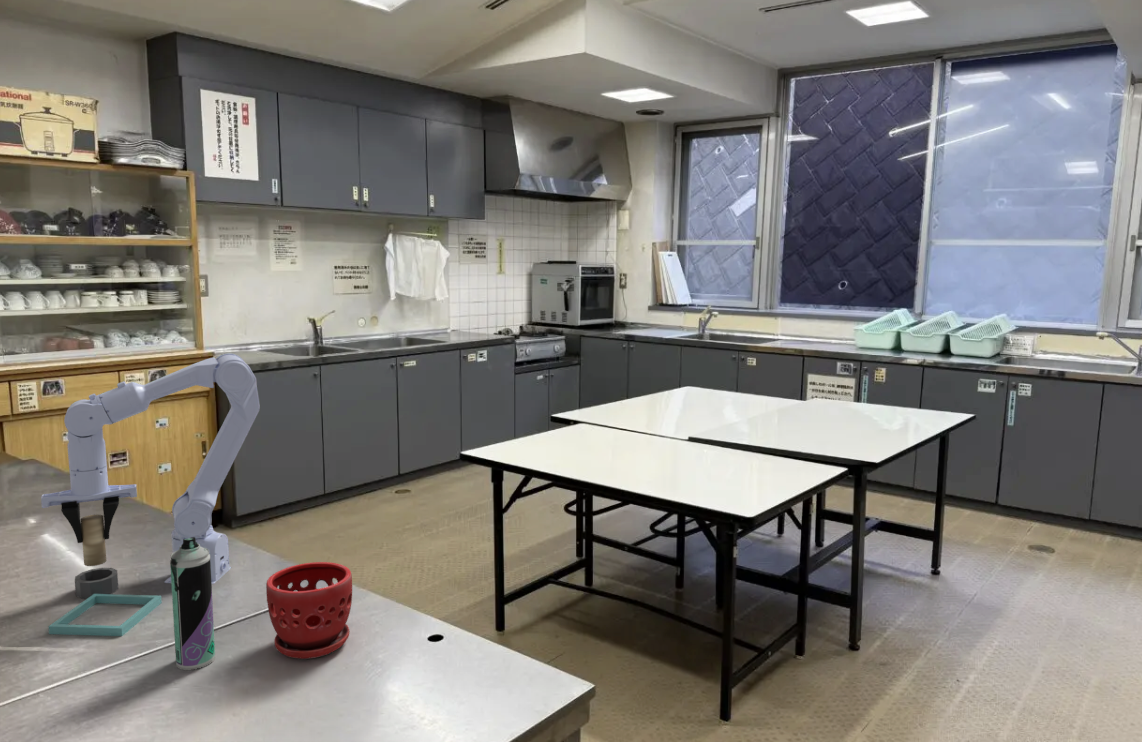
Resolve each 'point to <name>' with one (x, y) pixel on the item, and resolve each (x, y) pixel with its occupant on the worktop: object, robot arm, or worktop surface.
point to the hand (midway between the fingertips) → (93, 539)
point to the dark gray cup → (96, 582)
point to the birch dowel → (93, 540)
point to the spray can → (192, 605)
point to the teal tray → (65, 628)
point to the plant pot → (310, 609)
